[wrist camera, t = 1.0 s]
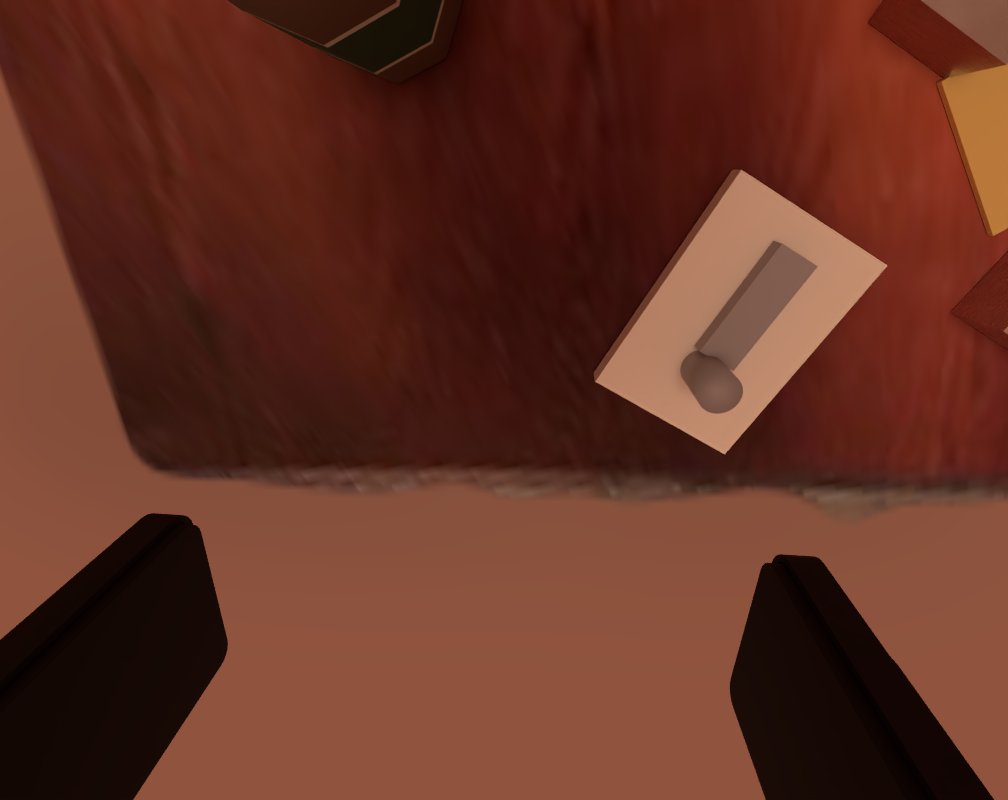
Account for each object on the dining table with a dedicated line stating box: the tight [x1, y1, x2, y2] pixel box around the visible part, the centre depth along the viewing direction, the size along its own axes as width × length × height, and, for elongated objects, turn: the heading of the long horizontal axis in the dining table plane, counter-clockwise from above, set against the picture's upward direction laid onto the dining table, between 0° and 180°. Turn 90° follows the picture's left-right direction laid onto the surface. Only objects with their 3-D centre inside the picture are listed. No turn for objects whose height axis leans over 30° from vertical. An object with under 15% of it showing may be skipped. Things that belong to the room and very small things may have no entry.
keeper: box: [593, 170, 887, 454], centre depth 30 cm, size 14×10×6 cm
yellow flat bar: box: [936, 64, 1008, 236], centre depth 28 cm, size 9×3×1 cm, turn 34°
